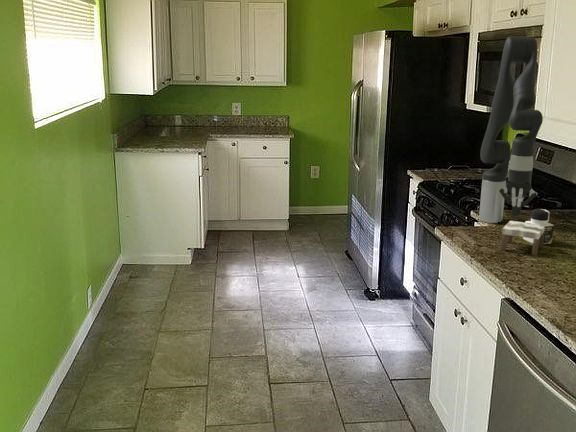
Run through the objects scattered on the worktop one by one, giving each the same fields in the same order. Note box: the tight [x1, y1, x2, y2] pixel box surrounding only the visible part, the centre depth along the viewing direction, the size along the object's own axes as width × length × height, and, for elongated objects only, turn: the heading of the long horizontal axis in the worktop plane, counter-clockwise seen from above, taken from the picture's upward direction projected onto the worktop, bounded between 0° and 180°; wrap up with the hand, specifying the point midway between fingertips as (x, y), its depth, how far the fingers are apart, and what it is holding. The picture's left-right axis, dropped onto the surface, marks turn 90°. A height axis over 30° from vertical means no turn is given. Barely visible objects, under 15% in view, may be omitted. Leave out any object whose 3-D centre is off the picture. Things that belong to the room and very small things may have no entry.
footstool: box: [500, 220, 545, 257], centre depth 215 cm, size 12×8×12 cm
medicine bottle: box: [522, 208, 554, 245], centre depth 223 cm, size 7×7×12 cm
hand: (515, 216), depth 215 cm, fingers closed
